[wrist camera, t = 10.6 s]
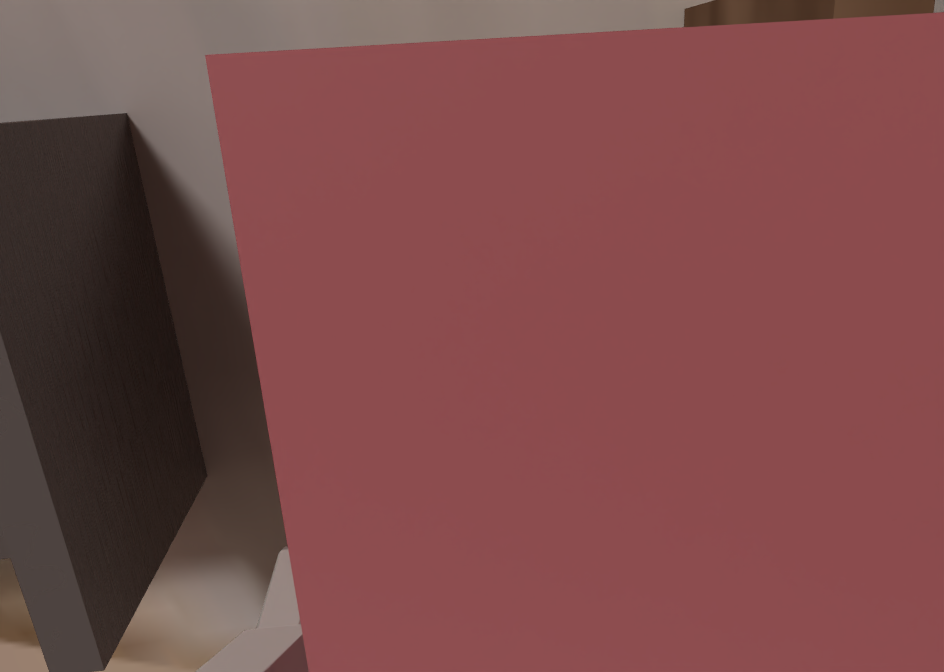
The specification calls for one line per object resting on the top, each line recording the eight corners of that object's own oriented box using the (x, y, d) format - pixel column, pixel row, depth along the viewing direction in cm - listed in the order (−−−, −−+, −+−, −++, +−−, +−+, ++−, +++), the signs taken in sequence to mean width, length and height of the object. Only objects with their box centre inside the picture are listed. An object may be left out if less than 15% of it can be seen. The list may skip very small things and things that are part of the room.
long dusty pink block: (428, 685, 16) (447, 1498, 7) (369, 83, 12) (205, 52, 3) (601, 667, 17) (849, 1432, 7) (602, 69, 12) (1221, -4, 3)
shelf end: (666, 485, 26) (769, 645, 19) (685, 8, 21) (838, -36, 13) (720, 480, 26) (843, 637, 19) (751, 5, 21) (940, -41, 14)
